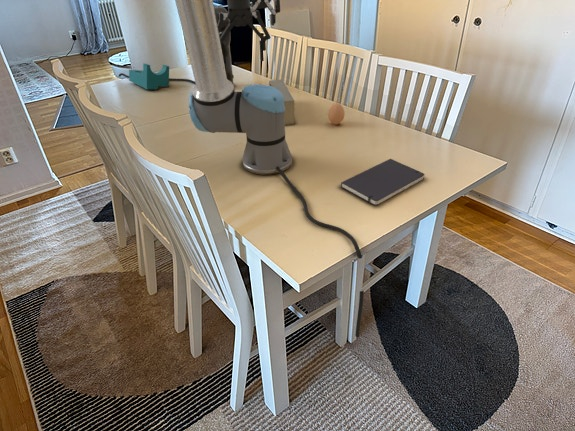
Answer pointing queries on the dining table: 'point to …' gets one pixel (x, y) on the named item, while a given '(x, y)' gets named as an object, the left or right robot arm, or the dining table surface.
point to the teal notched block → (150, 77)
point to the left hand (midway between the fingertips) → (261, 25)
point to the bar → (285, 100)
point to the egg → (336, 113)
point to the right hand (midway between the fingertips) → (243, 61)
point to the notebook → (382, 181)
